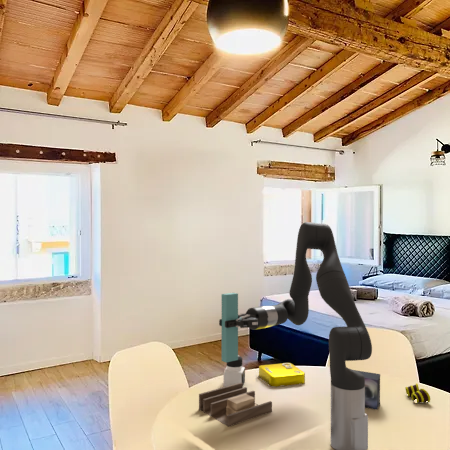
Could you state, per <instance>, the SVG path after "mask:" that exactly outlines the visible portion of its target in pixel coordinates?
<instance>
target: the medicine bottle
mask: <svg viewBox="0 0 450 450" xmlns="http://www.w3.org/2000/svg"><path fill="white" fill-rule="evenodd" d="M240 382H242V383H243V386H244V385H245V383H246V368H245V366H243V357H242V356H240V355H238V360H235V361H231V362H227V363H226V367H225V368H224V371H223V384H222V385H223V387H226V386H230V385H233V384H237V383H240Z"/></svg>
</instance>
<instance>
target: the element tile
mask: <svg viewBox="0 0 450 450" xmlns="http://www.w3.org/2000/svg"><path fill="white" fill-rule="evenodd" d="M258 377H259V378H260V379H261V380H263V381H264V382H265V383H266V384H267V385H268V386H269V387H272V388H276V387H285V386H288V387H289V386H297V385H303V384H305V383H306V372H304V371H303V370H301V369H300V368H298V367H297V366H296V365H294V364H293V363H291V362H283V363H281V362H280V363H273V364H262V365H259V366H258Z"/></svg>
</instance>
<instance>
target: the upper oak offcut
mask: <svg viewBox="0 0 450 450" xmlns="http://www.w3.org/2000/svg"><path fill="white" fill-rule="evenodd" d="M255 403H256V397H255V398H254V397H252V396H249V395H247V394H243V395H239V396H236V397H233V398H229V399H227V407H228V408H230V409H232V410H234V411H236V412H237V411H240V410H244V409H247V408H250V407H253V406H255Z"/></svg>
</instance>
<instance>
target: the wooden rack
mask: <svg viewBox="0 0 450 450" xmlns="http://www.w3.org/2000/svg"><path fill="white" fill-rule="evenodd" d="M255 392H256V391H255V390H250V391H248V387H246V386H245V387H244V385H243V383H242V382H240V383H237V384H233V385H230V386H226V387H224V386H223V387H219V388H216V389H212V390H208V391H205V392H201V393H199V394H198V410H199V411H201V412H203V413H205V414H206V415H208V416H209V417H211V418H213V419H215V420H216V421H218V422H219V423H222V424H223V425H225V426H227V427H232V426H234V425H237V424H241V423H244V422H246V421H250V420H253V419H254V418H255V419H256V418H258V417H261V416H264V415H267V414H270V413H272V412H273V401H271V400H270V401H267V402H264V403H261V404H257V403H256V402H255V404H257V406H254V407H251V408H248V409H245V410H242V411H239V412H236V413H233V414H230V415H226V407H227V399H229V398H233V397H236V396H239V395H243V394H247V395H249V396H252V397H254V398H255V399H256V393H255Z"/></svg>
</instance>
